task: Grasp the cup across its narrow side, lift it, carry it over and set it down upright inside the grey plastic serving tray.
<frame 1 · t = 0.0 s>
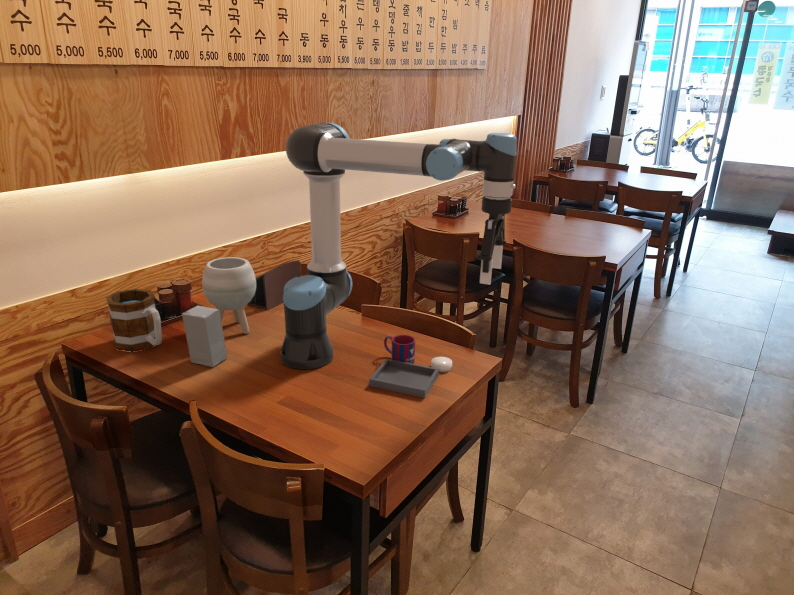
hand: (490, 275, 155), 28 cm above the table, fingers open, 13 cm apart
planter: (233, 329, 187), on the table
tray: (404, 380, 158), on the table
skincare box: (207, 361, 166), on the table
letter holder: (275, 299, 212), on the table
mug: (143, 345, 175), on the table
white rounded flat piece: (441, 367, 166), on the table
cup: (398, 359, 170), on the table
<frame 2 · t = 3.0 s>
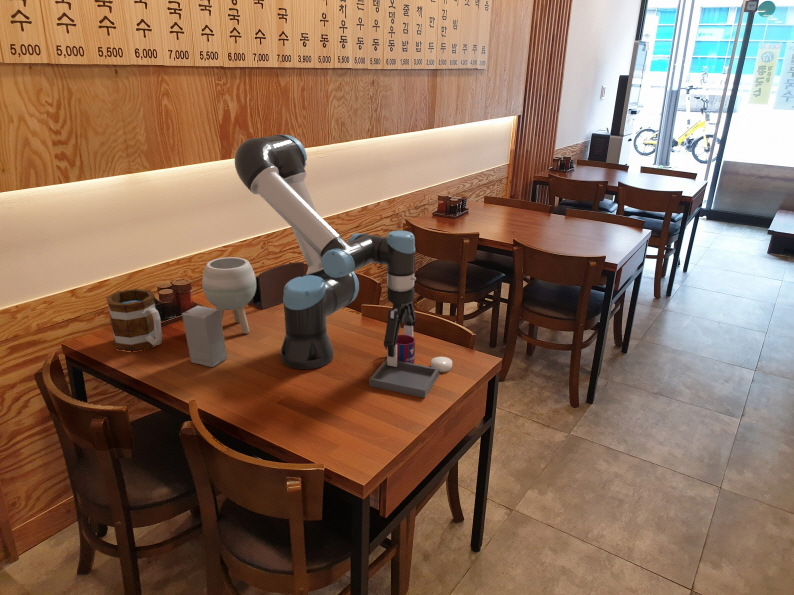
hand: (400, 355, 169), 1 cm above the table, fingers open, 13 cm apart
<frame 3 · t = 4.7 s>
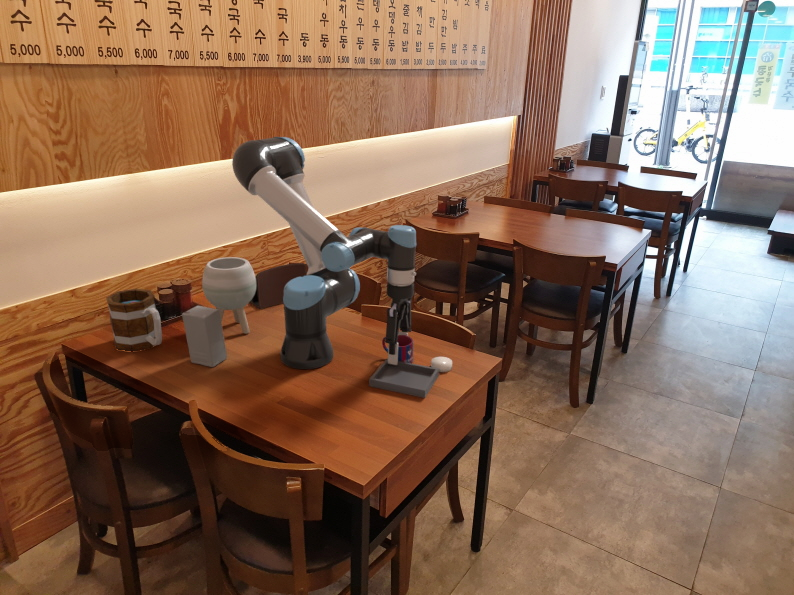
hand: (397, 358, 167), 1 cm above the table, fingers open, 7 cm apart
cup: (397, 359, 169), on the table, touching gripper, tray
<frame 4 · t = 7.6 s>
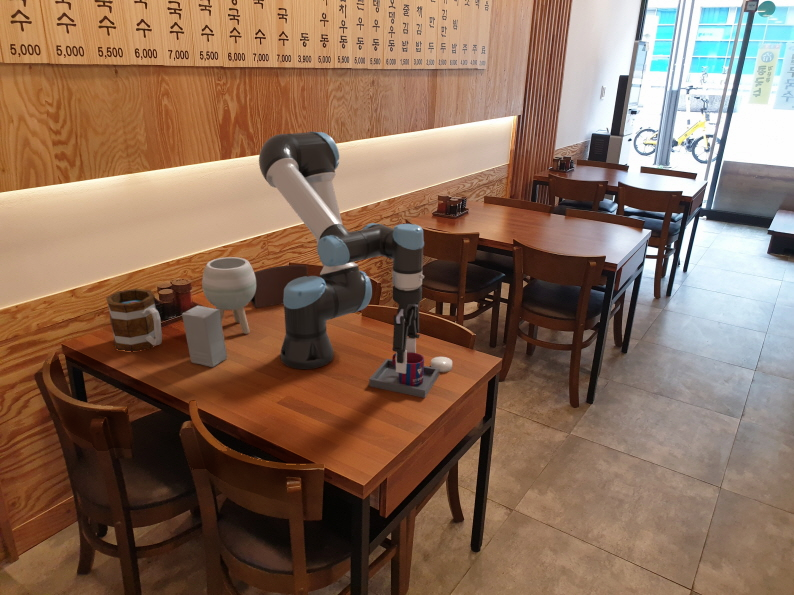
hand: (405, 365, 156), 5 cm above the table, fingers open, 7 cm apart
cup: (406, 378, 158), resting on tray, touching gripper
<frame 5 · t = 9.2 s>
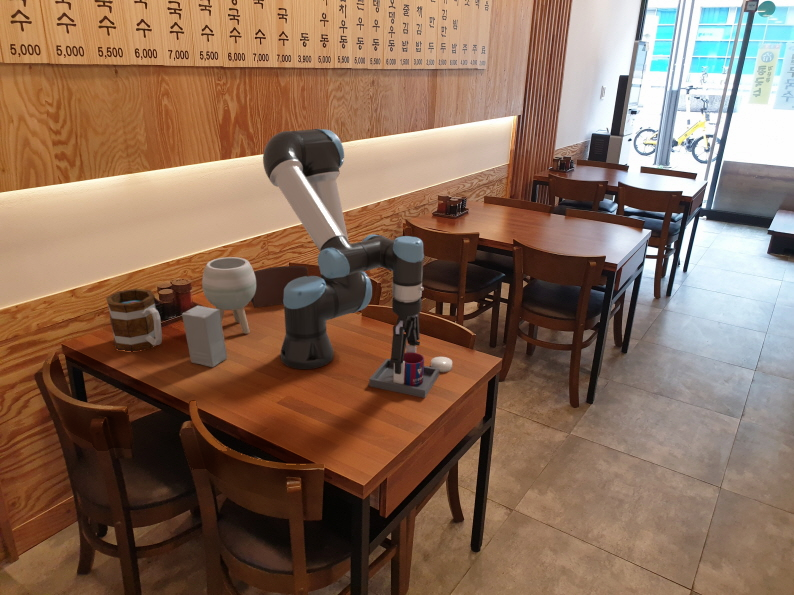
hand: (404, 374, 157), 2 cm above the table, fingers open, 9 cm apart
cup: (406, 378, 158), resting on tray
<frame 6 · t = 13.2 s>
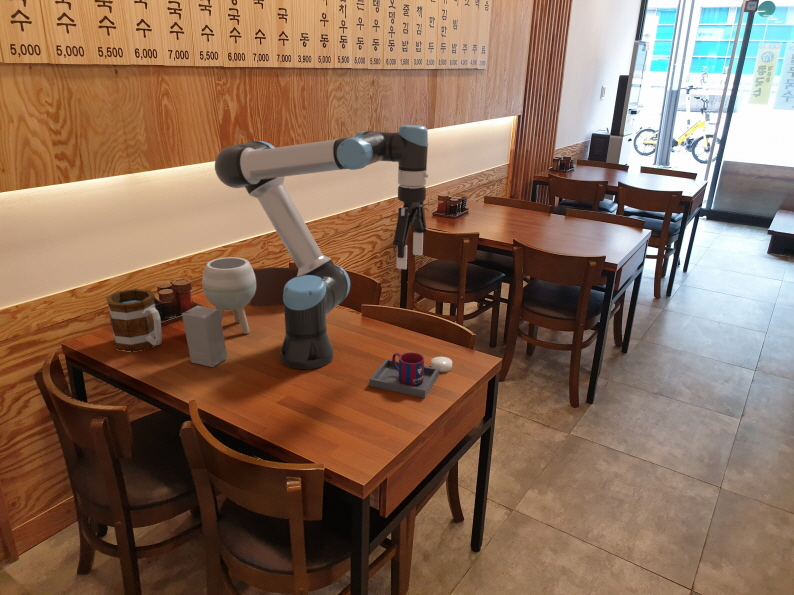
hand: (409, 261, 163), 29 cm above the table, fingers open, 13 cm apart
at the end: cup inside the target area on the tray (0.8 cm from its centre), point 0.4 cm above the tray's base; cup tilted 0°; the gripper is holding nothing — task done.
